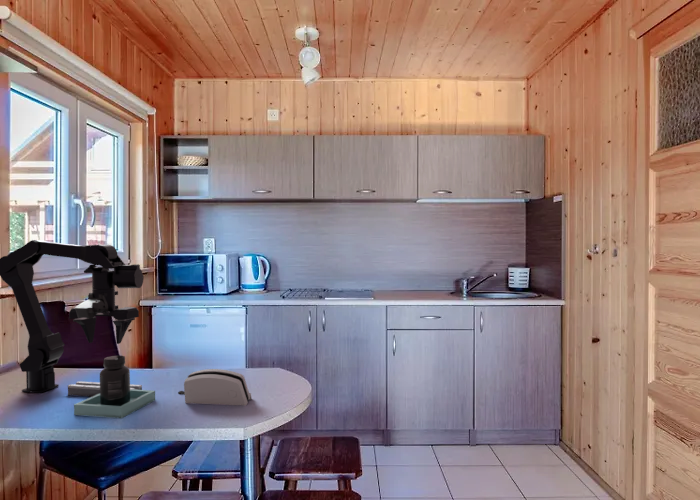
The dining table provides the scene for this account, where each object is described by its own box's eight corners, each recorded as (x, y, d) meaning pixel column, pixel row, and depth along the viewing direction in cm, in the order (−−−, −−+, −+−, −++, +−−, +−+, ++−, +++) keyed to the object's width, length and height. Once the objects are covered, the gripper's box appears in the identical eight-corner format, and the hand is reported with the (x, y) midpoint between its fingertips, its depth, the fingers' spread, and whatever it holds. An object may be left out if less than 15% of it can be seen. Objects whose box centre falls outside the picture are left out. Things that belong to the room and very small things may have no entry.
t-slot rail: (67, 395, 127) (67, 385, 127) (79, 390, 131) (79, 381, 131) (132, 399, 123) (132, 389, 123) (141, 394, 127) (141, 385, 127)
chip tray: (74, 414, 112) (74, 404, 112) (112, 397, 125) (112, 388, 125) (121, 418, 109) (121, 407, 109) (155, 400, 122) (155, 390, 122)
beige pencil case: (253, 398, 122) (248, 366, 119) (247, 410, 118) (241, 377, 114) (193, 396, 125) (186, 365, 121) (185, 408, 120) (178, 376, 117)
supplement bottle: (136, 400, 120) (135, 354, 120) (119, 410, 113) (118, 361, 113) (111, 399, 121) (110, 353, 121) (93, 409, 114) (92, 360, 114)
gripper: (52, 291, 126) (53, 348, 126) (112, 291, 122) (113, 350, 123) (83, 287, 137) (84, 339, 137) (139, 287, 133) (140, 342, 133)
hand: (104, 343), depth 132 cm, fingers open, 9 cm apart
